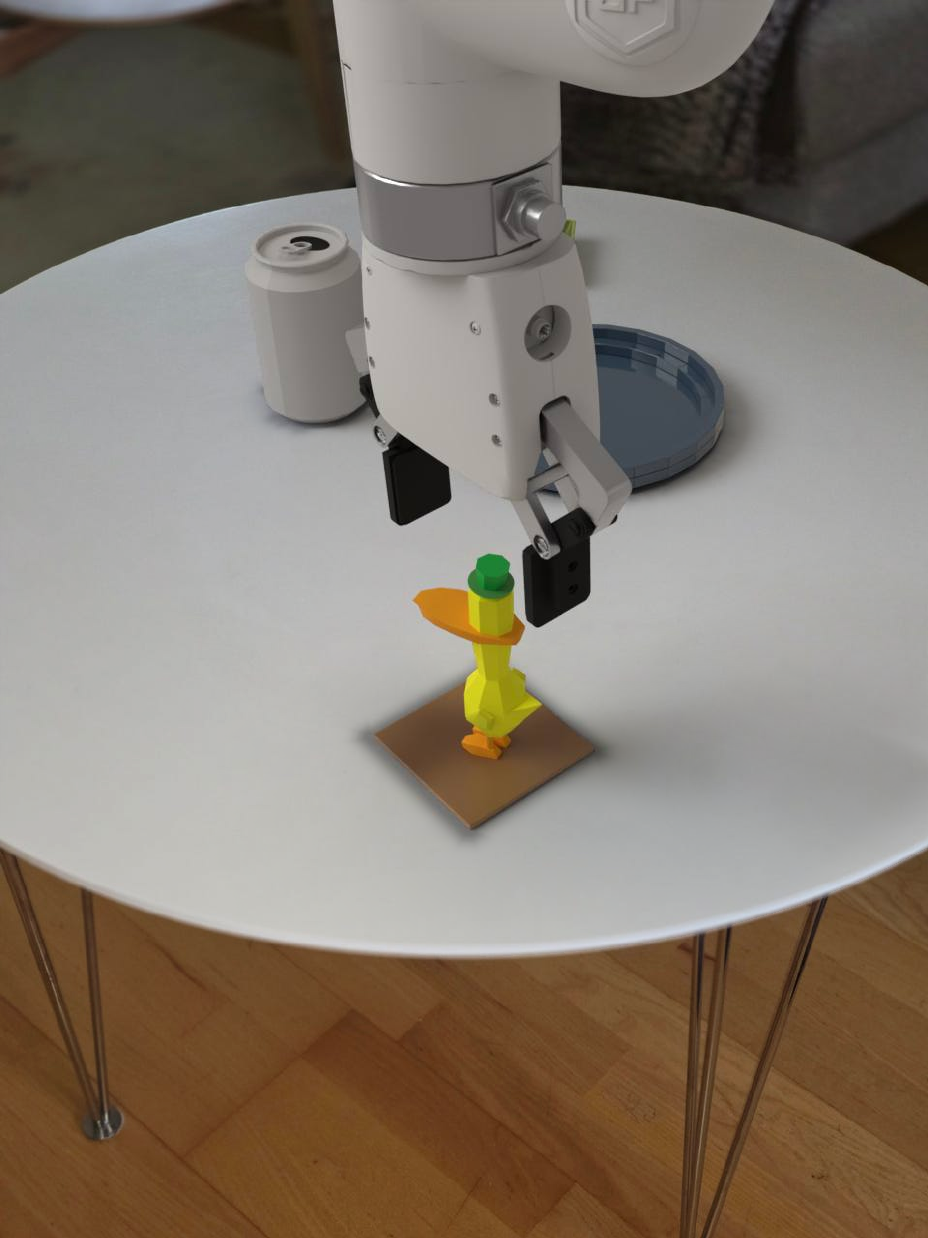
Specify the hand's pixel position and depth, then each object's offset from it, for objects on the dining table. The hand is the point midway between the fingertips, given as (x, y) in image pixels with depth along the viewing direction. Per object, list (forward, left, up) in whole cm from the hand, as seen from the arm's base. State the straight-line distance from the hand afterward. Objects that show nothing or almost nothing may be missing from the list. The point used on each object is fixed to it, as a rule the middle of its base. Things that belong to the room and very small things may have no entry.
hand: (486, 558), depth 61 cm
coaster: (+1, 0, -12) cm, 12 cm away
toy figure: (0, 0, -12) cm, 12 cm away
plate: (+20, -24, -12) cm, 33 cm away
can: (+34, -12, -13) cm, 38 cm away
